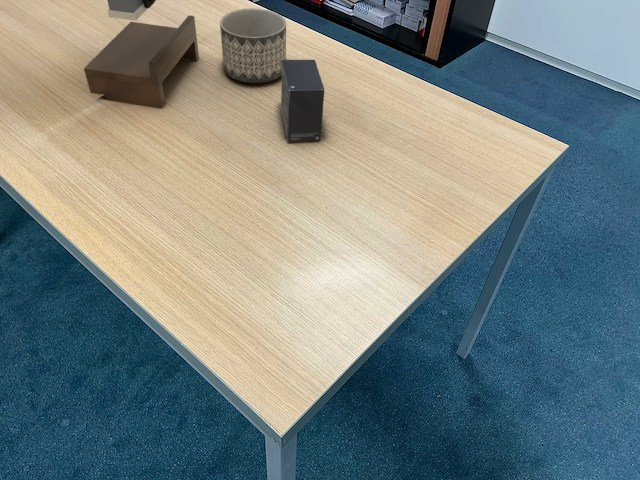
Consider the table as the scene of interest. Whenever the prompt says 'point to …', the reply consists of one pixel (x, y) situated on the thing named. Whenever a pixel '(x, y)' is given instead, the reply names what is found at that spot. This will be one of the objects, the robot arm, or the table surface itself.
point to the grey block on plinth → (126, 9)
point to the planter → (253, 44)
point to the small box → (301, 100)
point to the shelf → (141, 62)
